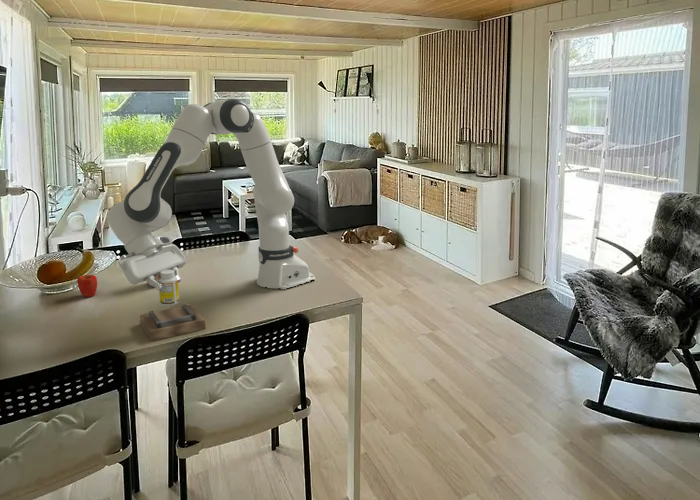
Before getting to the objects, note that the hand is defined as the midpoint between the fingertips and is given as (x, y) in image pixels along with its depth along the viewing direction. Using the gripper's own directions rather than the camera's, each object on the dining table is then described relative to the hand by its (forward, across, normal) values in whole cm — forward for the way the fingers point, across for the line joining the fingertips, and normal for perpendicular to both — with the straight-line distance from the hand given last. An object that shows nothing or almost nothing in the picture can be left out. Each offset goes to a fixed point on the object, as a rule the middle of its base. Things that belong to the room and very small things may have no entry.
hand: (170, 285), depth 158 cm
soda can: (-14, +23, +34) cm, 43 cm away
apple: (-22, +4, +42) cm, 47 cm away
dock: (+9, 0, +10) cm, 14 cm away
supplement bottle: (+4, 0, +5) cm, 6 cm away
